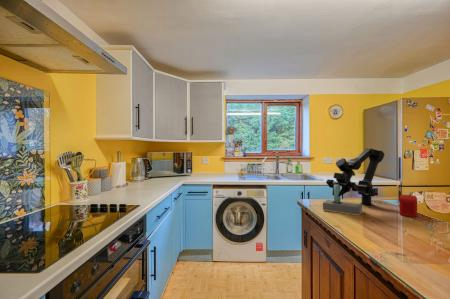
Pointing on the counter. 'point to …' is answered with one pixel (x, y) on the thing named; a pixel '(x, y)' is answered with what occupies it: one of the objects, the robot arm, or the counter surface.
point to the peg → (336, 194)
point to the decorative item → (408, 205)
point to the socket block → (343, 207)
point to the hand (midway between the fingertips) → (335, 195)
